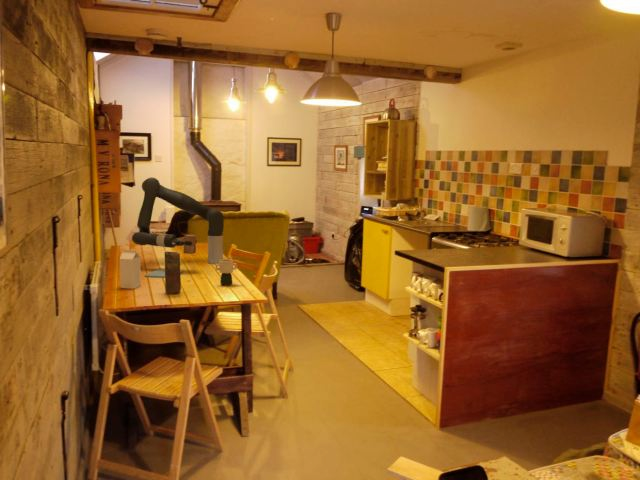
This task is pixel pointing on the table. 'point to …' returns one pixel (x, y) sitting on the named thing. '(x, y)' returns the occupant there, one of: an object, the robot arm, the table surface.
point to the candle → (172, 272)
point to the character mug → (226, 270)
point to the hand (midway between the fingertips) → (193, 242)
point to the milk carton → (130, 269)
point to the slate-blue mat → (158, 274)
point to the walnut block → (188, 248)
